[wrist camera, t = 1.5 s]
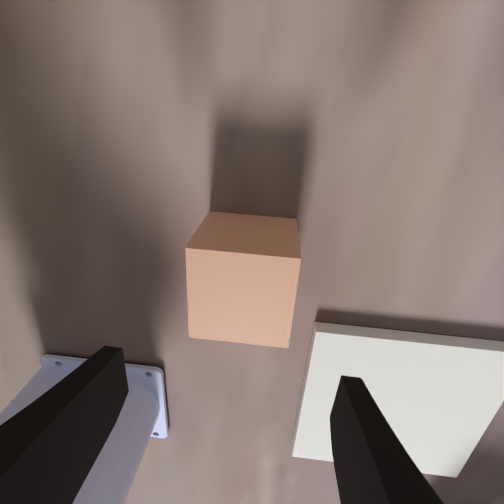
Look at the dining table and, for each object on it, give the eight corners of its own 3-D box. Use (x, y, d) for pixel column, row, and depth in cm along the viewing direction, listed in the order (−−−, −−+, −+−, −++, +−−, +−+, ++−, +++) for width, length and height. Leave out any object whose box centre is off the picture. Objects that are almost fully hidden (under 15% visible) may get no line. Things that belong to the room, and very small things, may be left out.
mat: (291, 444, 26) (292, 456, 26) (314, 321, 21) (315, 331, 20) (450, 464, 26) (456, 477, 25) (520, 343, 20) (531, 354, 19)
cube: (210, 284, 20) (188, 337, 16) (209, 210, 18) (185, 248, 14) (287, 292, 20) (288, 348, 16) (297, 218, 18) (301, 258, 13)
